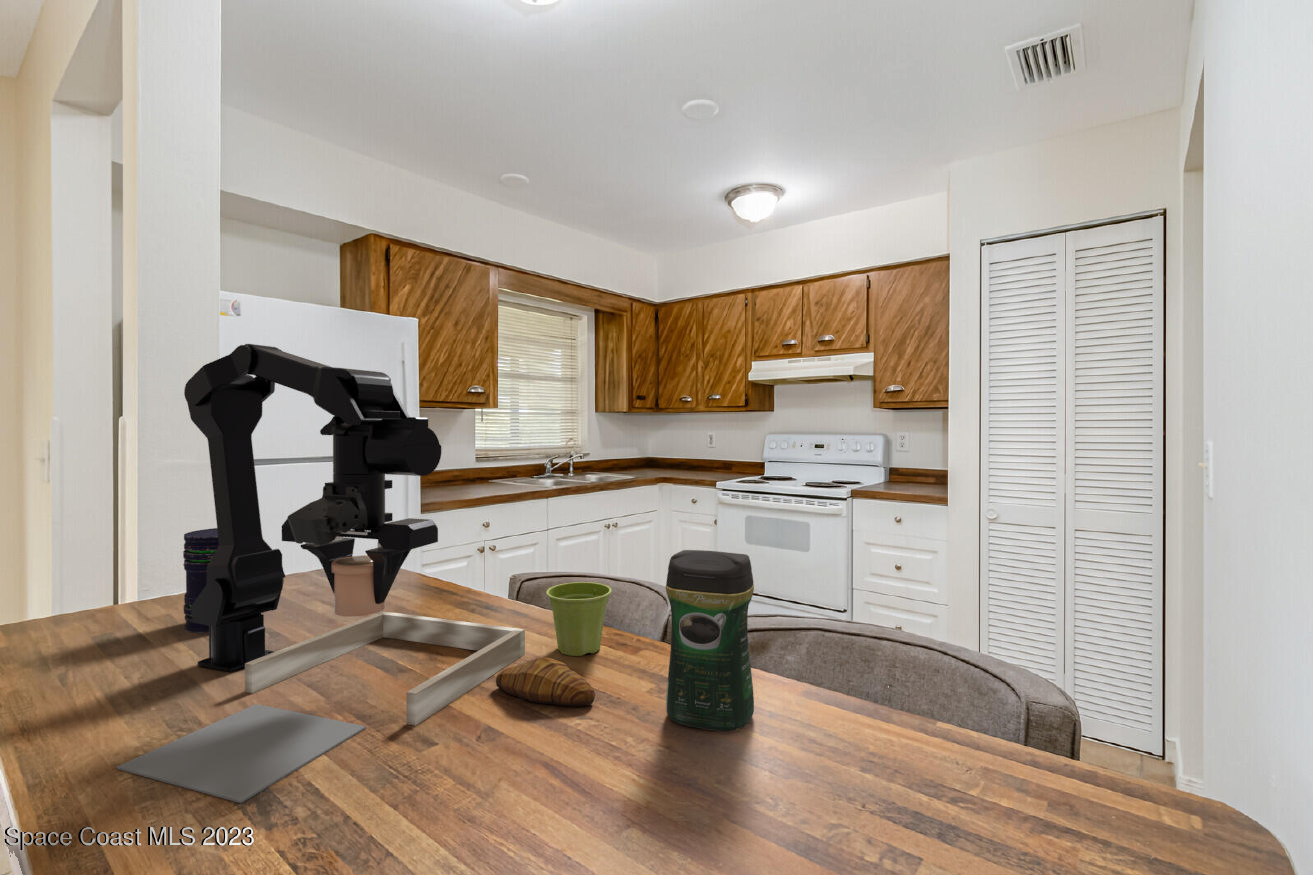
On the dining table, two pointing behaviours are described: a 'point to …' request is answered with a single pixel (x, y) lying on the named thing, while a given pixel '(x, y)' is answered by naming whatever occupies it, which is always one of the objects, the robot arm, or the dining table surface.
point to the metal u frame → (438, 691)
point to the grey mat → (243, 752)
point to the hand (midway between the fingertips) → (359, 601)
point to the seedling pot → (354, 587)
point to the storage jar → (197, 570)
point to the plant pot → (579, 615)
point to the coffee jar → (710, 640)
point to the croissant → (546, 683)
